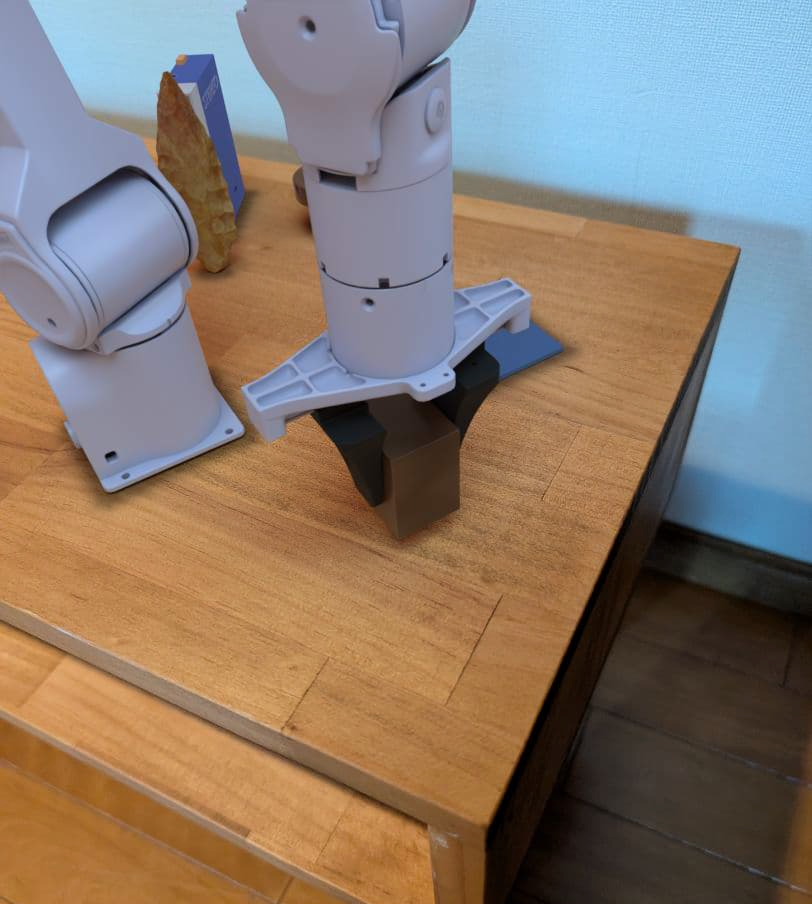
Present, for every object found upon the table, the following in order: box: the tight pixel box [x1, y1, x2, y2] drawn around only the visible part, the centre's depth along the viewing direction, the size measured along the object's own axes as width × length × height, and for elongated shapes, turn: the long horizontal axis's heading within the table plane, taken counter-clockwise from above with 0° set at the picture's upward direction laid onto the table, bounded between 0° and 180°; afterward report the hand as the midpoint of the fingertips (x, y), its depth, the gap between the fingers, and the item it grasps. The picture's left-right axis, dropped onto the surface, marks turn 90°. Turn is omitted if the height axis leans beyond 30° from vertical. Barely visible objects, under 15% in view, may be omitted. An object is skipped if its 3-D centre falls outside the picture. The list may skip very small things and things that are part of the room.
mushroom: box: [291, 166, 309, 208], centre depth 65 cm, size 5×5×6 cm
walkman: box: [156, 53, 246, 221], centre depth 65 cm, size 8×3×12 cm, turn 176°
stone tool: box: [155, 70, 237, 274], centre depth 58 cm, size 5×2×15 cm, turn 121°
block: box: [364, 393, 461, 540], centre depth 42 cm, size 4×5×6 cm
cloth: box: [485, 319, 565, 382], centre depth 55 cm, size 10×8×1 cm
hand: (404, 477), depth 43 cm, fingers closed on block, 4 cm apart
